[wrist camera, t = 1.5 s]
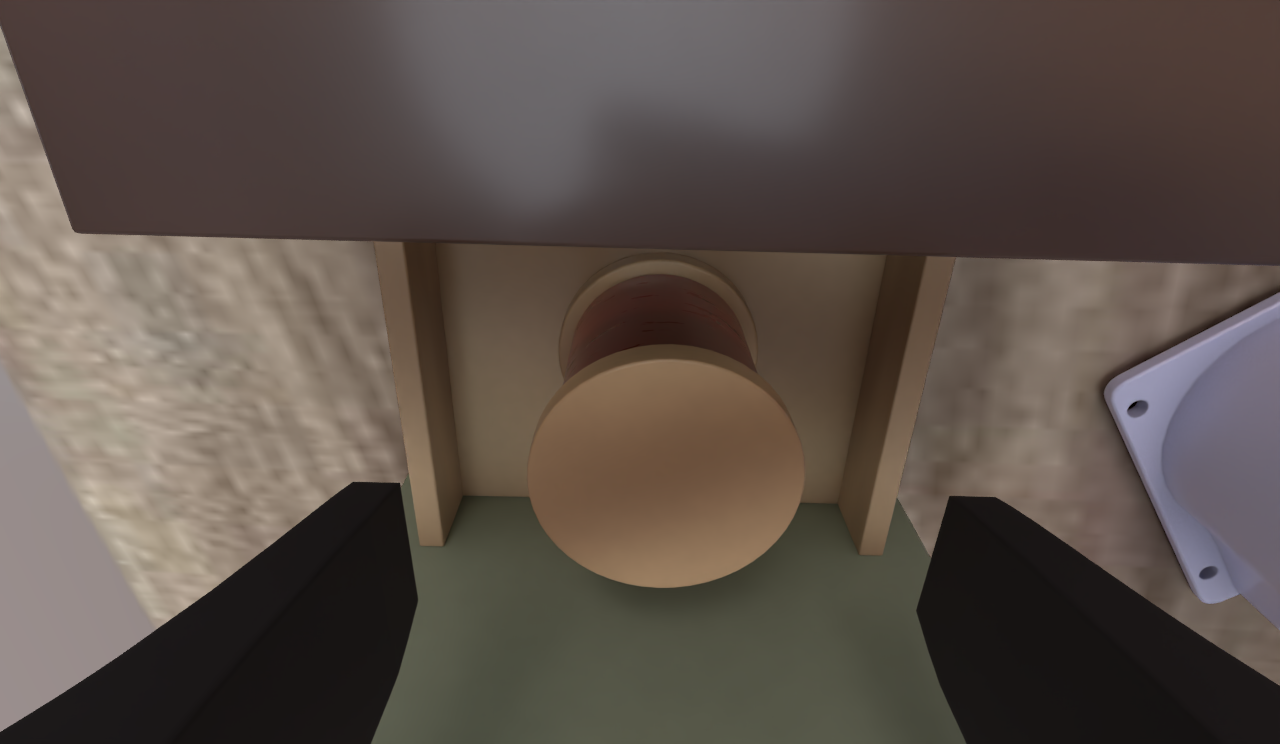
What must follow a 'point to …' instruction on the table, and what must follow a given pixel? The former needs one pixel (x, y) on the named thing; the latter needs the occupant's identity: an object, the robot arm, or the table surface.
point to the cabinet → (670, 123)
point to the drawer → (645, 616)
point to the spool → (663, 430)
